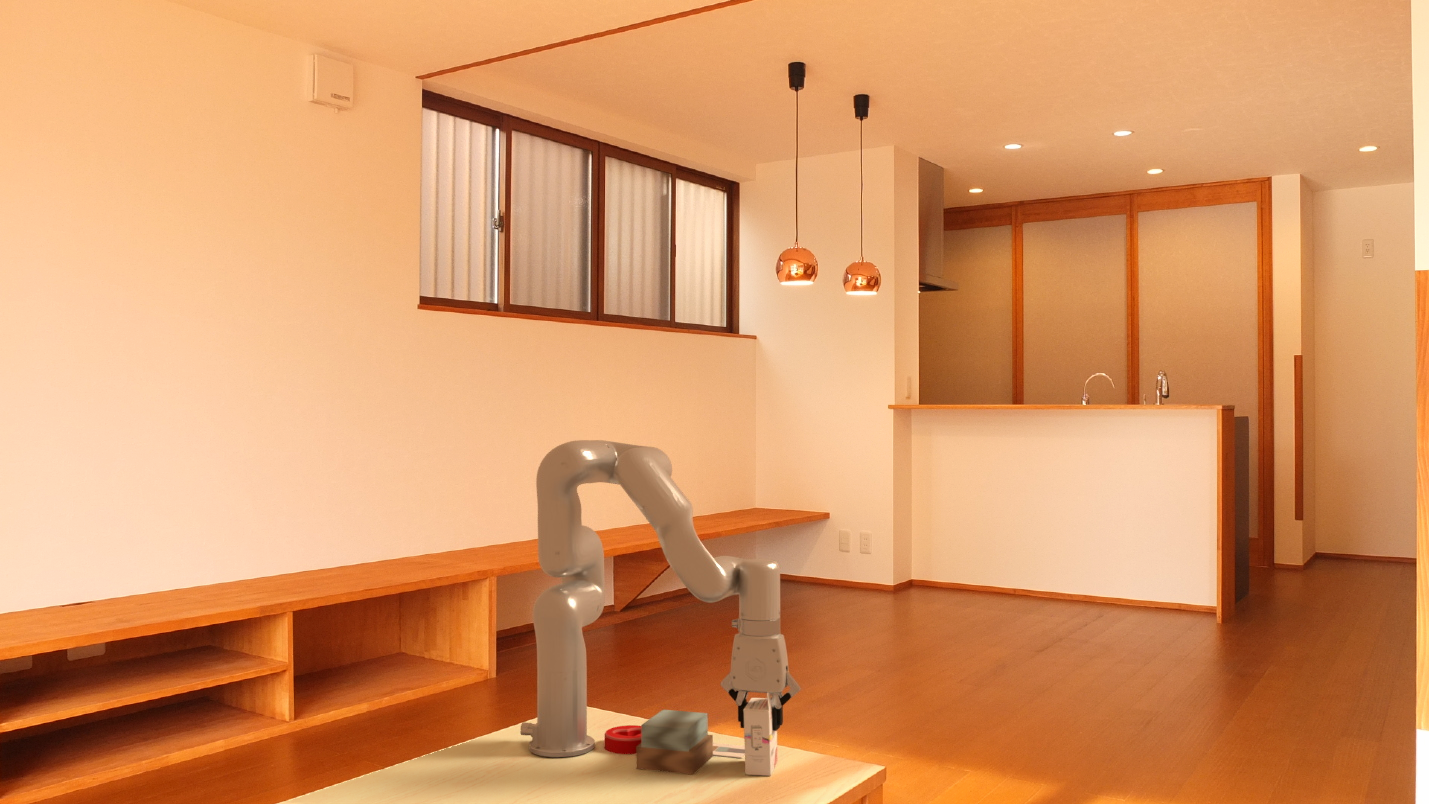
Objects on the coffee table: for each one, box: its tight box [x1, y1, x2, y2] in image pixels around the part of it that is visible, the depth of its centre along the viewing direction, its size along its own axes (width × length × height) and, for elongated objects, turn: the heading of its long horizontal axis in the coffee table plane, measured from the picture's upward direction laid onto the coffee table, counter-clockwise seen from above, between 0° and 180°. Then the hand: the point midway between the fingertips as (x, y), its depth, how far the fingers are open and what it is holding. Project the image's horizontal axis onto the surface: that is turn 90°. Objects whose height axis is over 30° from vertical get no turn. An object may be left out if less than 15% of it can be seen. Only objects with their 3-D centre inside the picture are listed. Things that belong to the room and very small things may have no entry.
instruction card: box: [713, 742, 745, 759], centre depth 199 cm, size 10×7×1 cm
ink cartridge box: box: [743, 692, 778, 776], centre depth 189 cm, size 9×5×15 cm, turn 168°
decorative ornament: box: [604, 724, 641, 755], centre depth 202 cm, size 10×10×3 cm
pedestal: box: [635, 709, 714, 776], centre depth 192 cm, size 11×11×8 cm
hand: (760, 726), depth 189 cm, fingers closed on ink cartridge box, 5 cm apart
